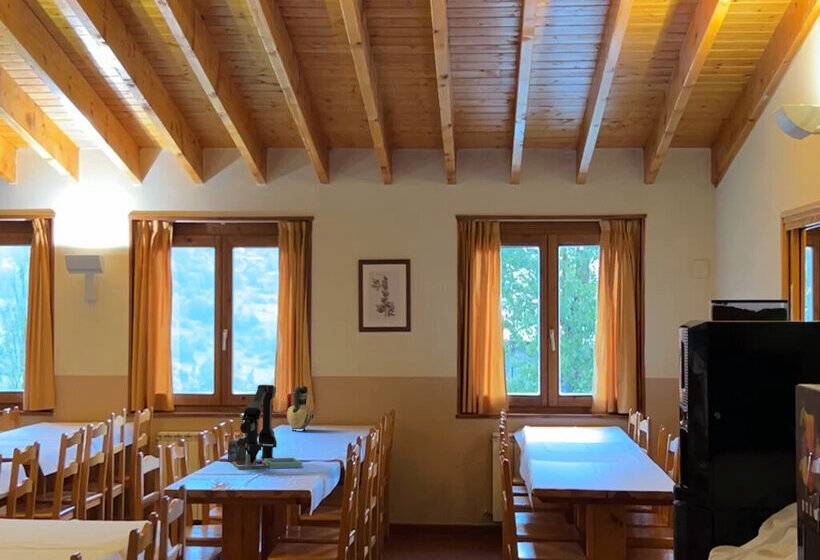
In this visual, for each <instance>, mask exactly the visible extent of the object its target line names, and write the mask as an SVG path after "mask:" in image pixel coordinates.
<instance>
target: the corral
mask: <svg viewBox="0 0 820 560" xmlns="http://www.w3.org/2000/svg"><path fill="white" fill-rule="evenodd" d="M245 462H246V461H232V462H231V463H232V464H233V465H232V466H234V468H236V469H237V470H253V469H252V468H268V469H270V465H268V464H267V463H265V462H264V460H256V463H262V464H263V465H262V464H258V465H252V466H247V465H246V464H245Z"/></svg>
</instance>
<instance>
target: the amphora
mask: <svg viewBox="0 0 820 560" xmlns="http://www.w3.org/2000/svg"><path fill="white" fill-rule="evenodd" d="M308 391H309V390H308V387H307V386H306V385H303V386H301V387H300V386H296V388H295V389H294V391H293V392H291V393H292V394H293V395H294V405H291V406H290V407H288V408H287V411H286V419H287V422H288V424H289V425H290V427H291V430H292V429H305V430H306V428H307V427H308V426H309V424H310V423H311V421H312V418H313V410H312V409H311V408H310V407H309V406H308V405H307V399H308V395H309V394H310V392H308Z"/></svg>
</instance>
